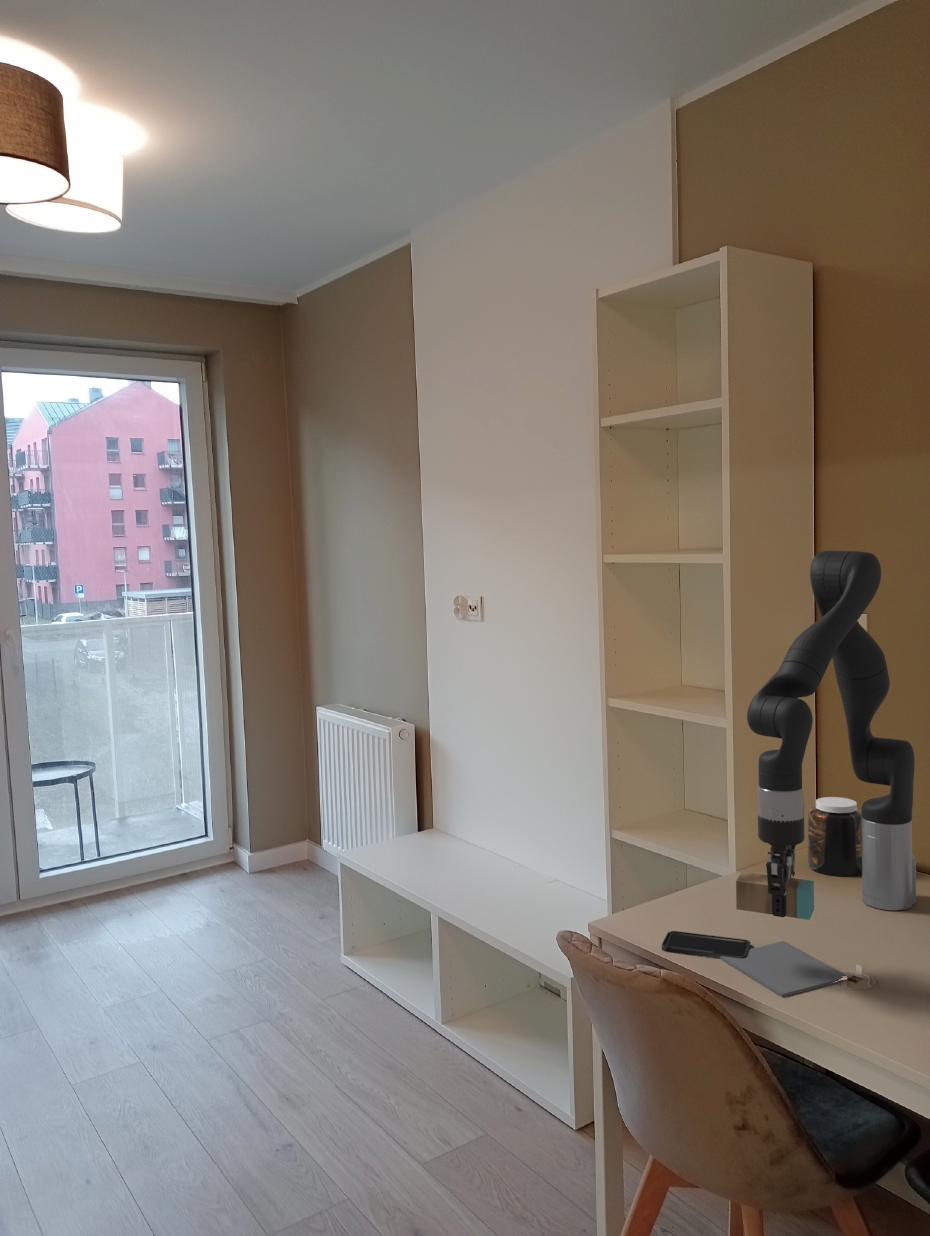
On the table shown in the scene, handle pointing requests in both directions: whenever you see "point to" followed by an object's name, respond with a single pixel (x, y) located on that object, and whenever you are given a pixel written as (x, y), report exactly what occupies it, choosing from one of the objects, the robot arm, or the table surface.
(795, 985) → the grey mat
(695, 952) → the phone
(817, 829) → the jar
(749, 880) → the walnut block
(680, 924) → the table surface
